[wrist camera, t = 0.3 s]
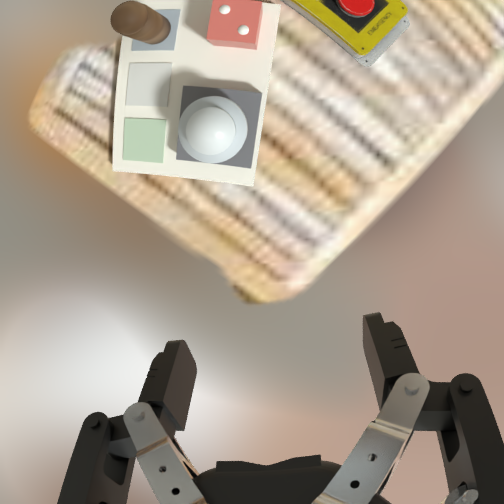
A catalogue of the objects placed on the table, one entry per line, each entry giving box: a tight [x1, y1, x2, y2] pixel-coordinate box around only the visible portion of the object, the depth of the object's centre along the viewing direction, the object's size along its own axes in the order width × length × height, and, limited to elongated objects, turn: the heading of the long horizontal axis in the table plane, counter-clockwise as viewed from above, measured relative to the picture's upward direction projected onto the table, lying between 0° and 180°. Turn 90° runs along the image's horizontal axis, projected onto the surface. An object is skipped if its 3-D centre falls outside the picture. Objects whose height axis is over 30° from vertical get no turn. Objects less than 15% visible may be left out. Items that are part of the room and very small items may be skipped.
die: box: [206, 0, 263, 50], centre depth 26 cm, size 4×4×5 cm
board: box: [113, 0, 281, 186], centre depth 30 cm, size 21×17×4 cm
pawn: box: [111, 1, 171, 44], centre depth 23 cm, size 4×4×9 cm
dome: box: [178, 96, 248, 163], centre depth 29 cm, size 6×6×4 cm
